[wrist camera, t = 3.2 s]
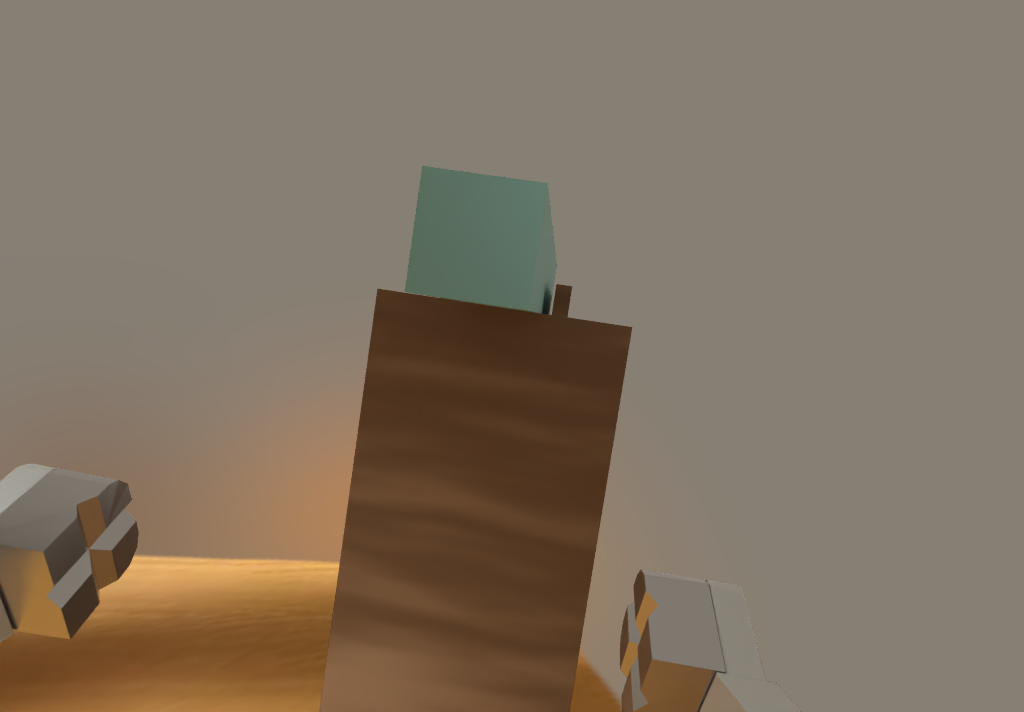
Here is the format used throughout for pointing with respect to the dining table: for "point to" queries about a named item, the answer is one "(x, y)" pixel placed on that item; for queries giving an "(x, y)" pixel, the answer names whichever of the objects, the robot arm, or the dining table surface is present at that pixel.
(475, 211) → the teal rod
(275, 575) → the dining table surface
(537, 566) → the walnut stand
